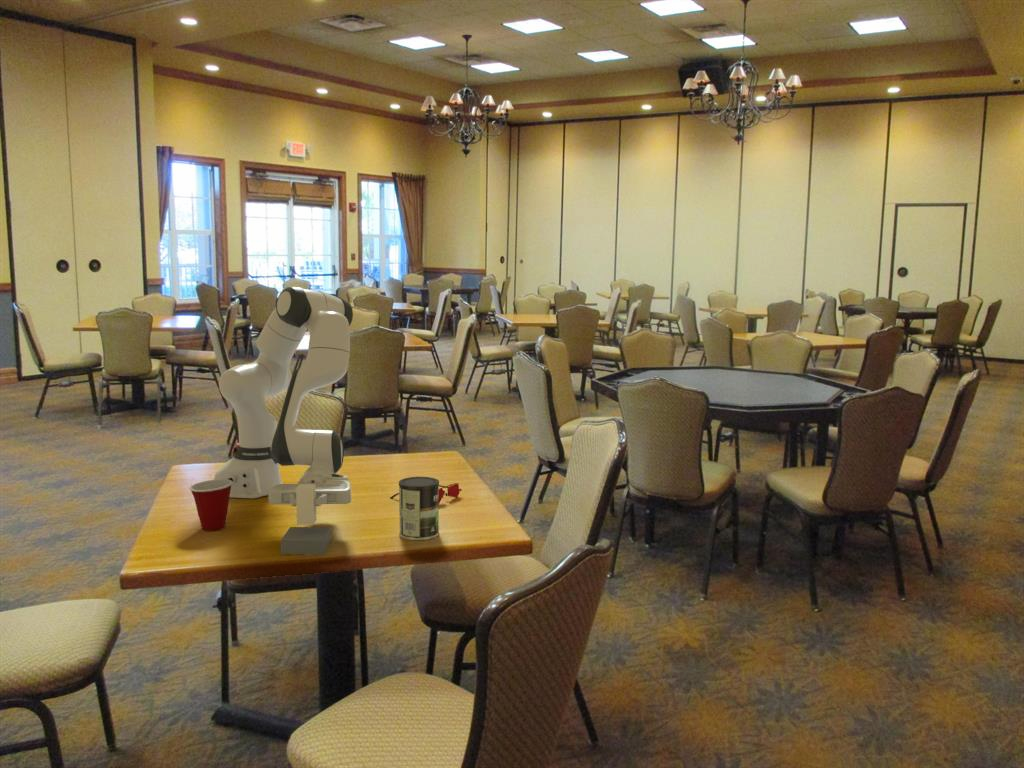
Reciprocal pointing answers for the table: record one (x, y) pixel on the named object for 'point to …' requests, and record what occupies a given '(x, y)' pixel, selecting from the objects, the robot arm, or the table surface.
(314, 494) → the cream block
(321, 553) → the gray square block
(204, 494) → the plastic cup
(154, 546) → the table surface
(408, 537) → the coffee can
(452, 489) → the glasses
